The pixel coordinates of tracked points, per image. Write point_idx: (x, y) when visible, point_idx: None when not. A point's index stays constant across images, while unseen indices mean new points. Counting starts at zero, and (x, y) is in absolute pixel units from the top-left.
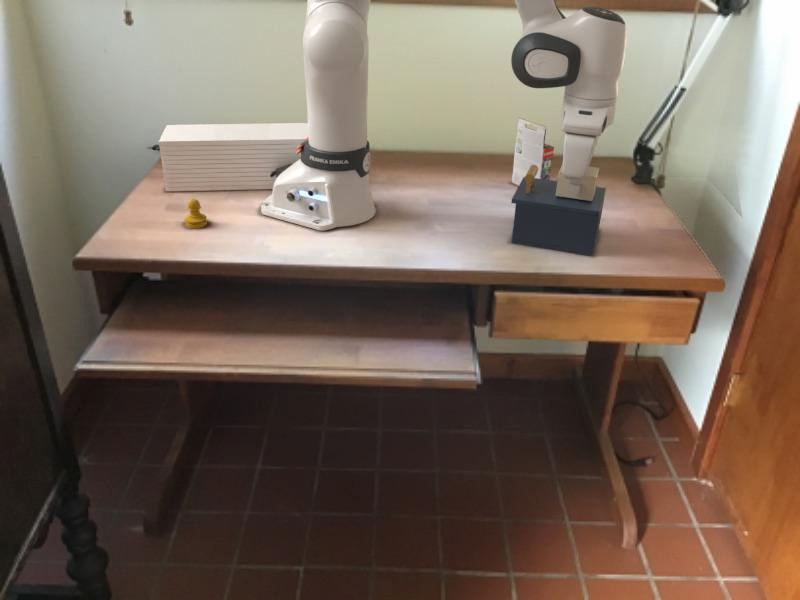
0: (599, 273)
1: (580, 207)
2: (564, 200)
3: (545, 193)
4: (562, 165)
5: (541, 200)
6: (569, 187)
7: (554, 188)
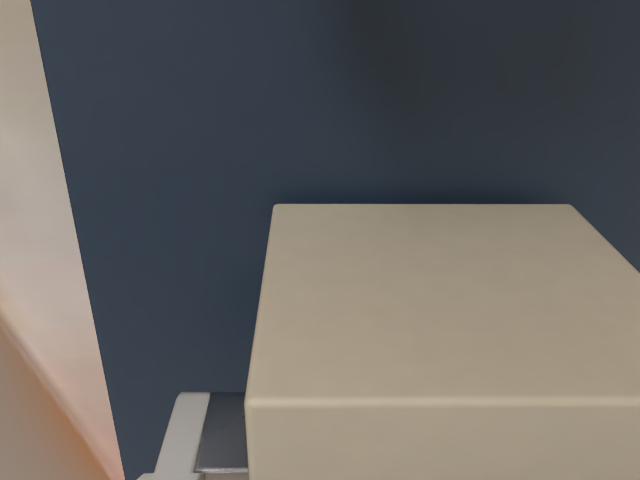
0: (41, 359)
1: (142, 418)
2: (236, 286)
3: (360, 72)
4: (616, 412)
5: (120, 62)
6: (170, 426)
7: (543, 148)
